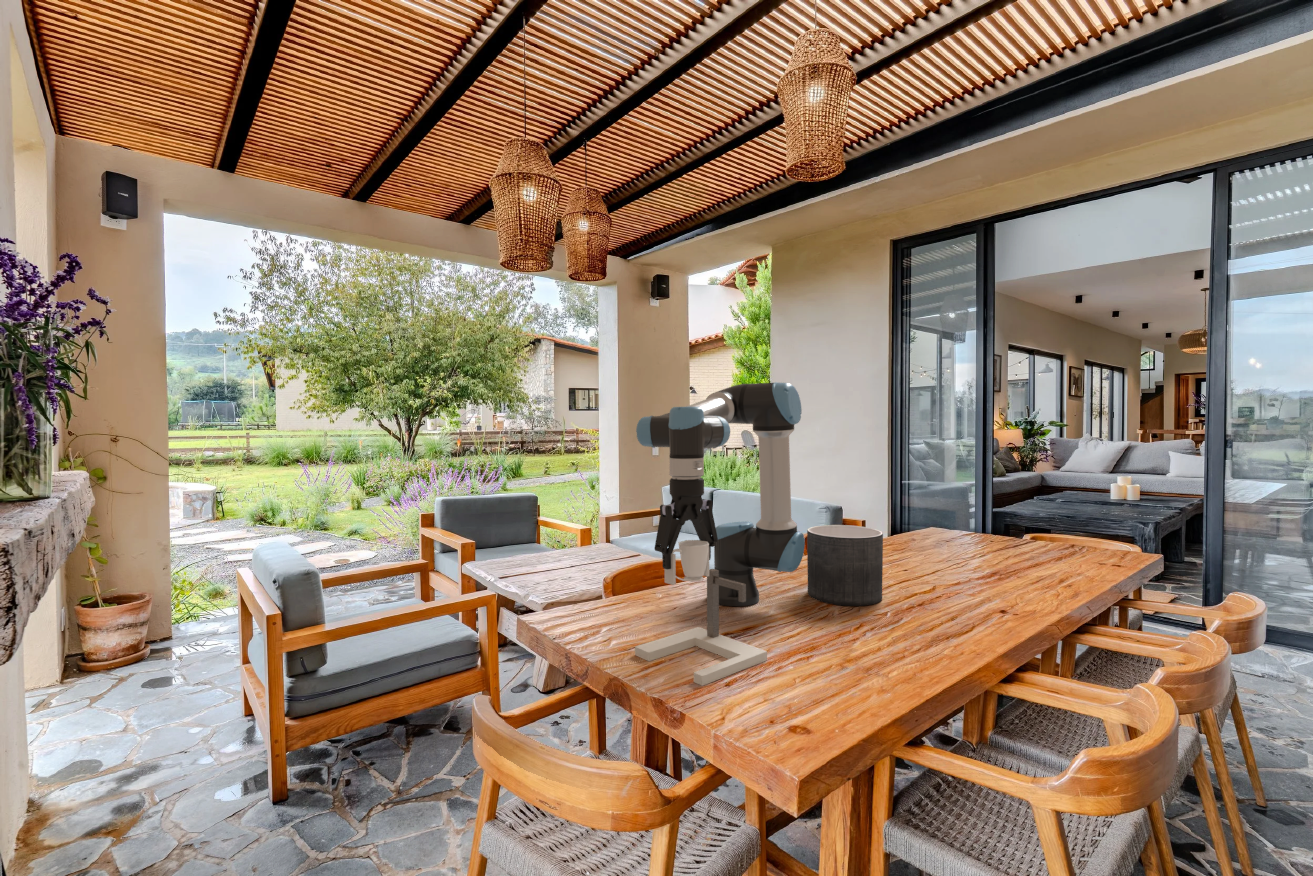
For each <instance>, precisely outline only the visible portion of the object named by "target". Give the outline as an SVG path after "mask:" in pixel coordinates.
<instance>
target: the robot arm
mask: <svg viewBox="0 0 1313 876" xmlns="http://www.w3.org/2000/svg"><path fill="white" fill-rule="evenodd" d="M802 410H803V409H802V402H801V398H800V395H799V392H798V390H797V388H796V387H795V386H794V385H793V384H791V383H790V382H778V381H775V382H762V383H741V384H737V385H733V386H730V387H726V388H723V389H721V390H718V391H714V392H713V393H711V394H709V395H708V396H707V397H706V398H705V399H703V400H700V401H698V402H695V403H692V404H690V405H686V406H673V407H671V409H670V410H669V412H667V413H664V414H661V415H655V416H654V415H650V416H643V417H641V418H640V419H639V420H638V422H637V425H636V430H635V432H636V439H637V441H638V442H639V444H640V445H641V446H643V447H648V448H650V447H651V448H653V449H655V448H669V458H668V459H669V461H668V462H669V465H668V466H669V467H668V469H669V472H668V473H669V474H668V475H669V476H670V477H671V478H670V479H669V495H670V496H671V501H670V504H660V506H659V513H660V517H659V521H658V527H657V532H656V537H655V544H654V551H656V552H659V553H661V554H662V559H661V561H662V563H661V564H662V569H664V583H665V584H668V585H672V586H675V585H677V580H676V579H677V578H676V576H677V575H676V574H677V573H676V572H677V571H676V570H677V569H676V567H677V566H676V563H677V562H676V560H677V558H676V557H677V556H676V553H672V552H673V550H674V549H675V546H676V544H677V541H678V538H679V536H680V534H681V529H682V527H683V526H684V525H685V524H686V522H688V521H690V522H691V524H692V525H693V528H694V530H695V533H696V535H697V537H698V540H701V541H707V542H708V543H709V549H708V555H707V563H706V568H705V572H704V575H703V577H706V578H707V577H708V576H709V569H710V561H711V559H712V554H711V553H712V551H711V550H712V548H713V550H714V552H713V555H714V556H713V557H714V560H713V561H714V565H713V566H714V567H713V569H716V570H719V577H721V578H724V579H728V580H732V581H736V582H740V583H744V584H746V602H739V590H735V589H731V588H728V587H724V586H720V585H719V606H720V605H721V606H726V607H745V606H752V605H755V604H757V603H759V601H760V592H759V590H758V587H757V583H756V579H755V577H754V569H758V570H759V569H760V570H768V571H769V570H770V571H777V572H779V573H782V572H786V573H792V572H794V571H796V570H797V569H798V568H799V566H800V564H801V563H802V559H803V557H804V553H805V546H806V543H805V542H806V539H805V538H806V537H805V535H804V533H803V532H801V531H799V530H798V524H797V522H795V521H794V520H793V518H792V498H791V496H792V495H791V489H792V488H791V461H790V435H791V434H792V433H793V432H794V431H795V425H798V424H799V423H800V421H801V418H802V416H801V415H802ZM730 424H740V425H741V424H742V425H743V424H744V425H752V432H753V433H754V434H755V435H756V436H757V437H758V459H759V462H758V464H759V465H758V466H759V494H760V495H759V496H760V497H759V498H760V519H759V520H758V521H757V522H756V524H755V527H754V523H753V522H752V521H734V522H733V521H732V522H727V523H721V524H718V525H717V526H716V523H715V518H714V513H713V500H711V499H706V498H705V499H704V498H702V496H704V494H705V480H704V478H702V477H703V476H704V475H705V472H704V471H705V469H704V468H705V467H704V466H705V464H704V461H705V460H704V459H705V455H704V454H705V449H716V448H720V447H723V446H724V445H725V444H726V443H727V442H728V441H729V439H730V437H731V427H730Z"/></svg>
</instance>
